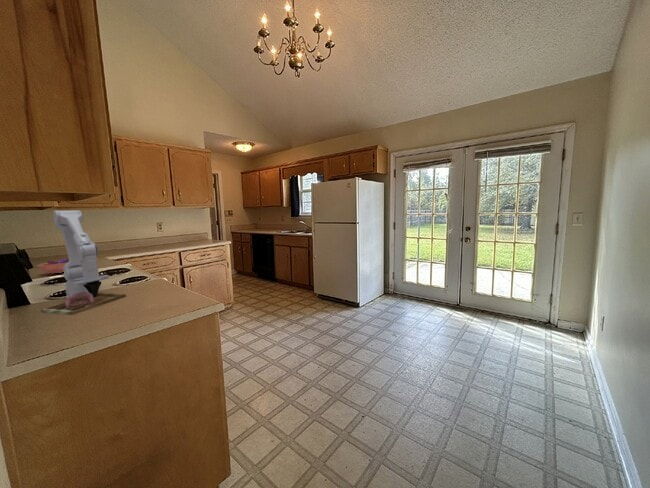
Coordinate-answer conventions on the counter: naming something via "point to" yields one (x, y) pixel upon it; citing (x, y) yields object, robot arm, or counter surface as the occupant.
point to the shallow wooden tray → (81, 308)
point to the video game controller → (73, 299)
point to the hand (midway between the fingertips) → (94, 297)
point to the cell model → (53, 266)
